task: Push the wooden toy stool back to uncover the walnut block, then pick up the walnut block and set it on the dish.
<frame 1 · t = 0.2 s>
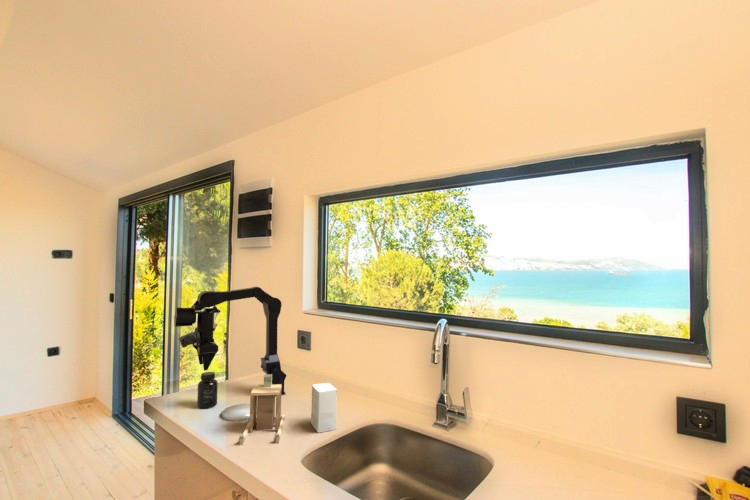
hand: (203, 367, 137), 15 cm above the counter, tool pointing down, fingers open, 9 cm apart
supplement bottle: (207, 406, 138), on the counter
wooden toy stool: (266, 401, 122), point 8 cm above the counter, slide at 0.0 cm
walnut block: (265, 426, 122), resting in track
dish: (240, 413, 131), on the counter
track: (264, 430, 119), on the counter
small box: (323, 427, 122), on the counter
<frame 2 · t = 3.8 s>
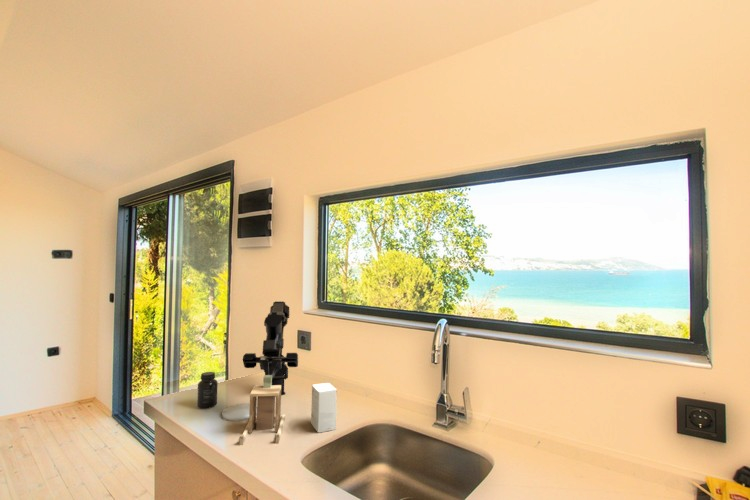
hand: (268, 382, 125), 13 cm above the counter, tool tilted 45°, fingers closed, pressing on wooden toy stool
wooden toy stool: (265, 402, 121), point 8 cm above the counter, slide at 0.8 cm, touching gripper
everything else where it was.
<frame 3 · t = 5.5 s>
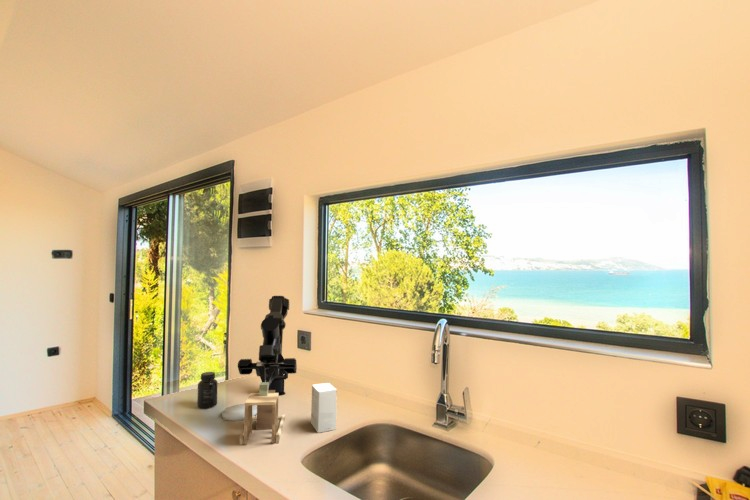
hand: (264, 390, 118), 13 cm above the counter, tool tilted 45°, fingers closed, pressing on wooden toy stool
wooden toy stool: (262, 411, 114), point 8 cm above the counter, slide at 8.3 cm, touching gripper
everything else where it was.
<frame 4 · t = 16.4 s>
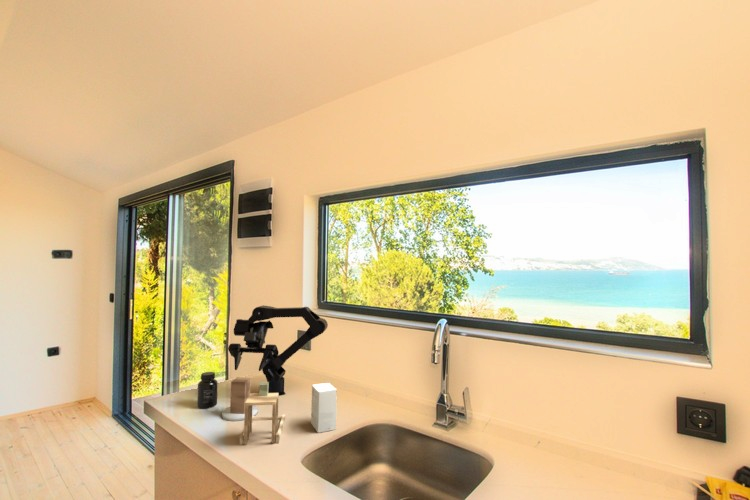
hand: (247, 370, 140), 13 cm above the counter, tool tilted 45°, fingers open, 9 cm apart
wooden toy stool: (262, 411, 114), point 8 cm above the counter, slide at 8.3 cm
walnut block: (240, 410, 131), point 1 cm above the counter, touching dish
everything else where it was.
at the end: wooden toy stool slide at 8.3 cm; walnut block inside the target area on the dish (0.3 cm from its centre), point 1.2 cm above the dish's base; walnut block tilted 0° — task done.
